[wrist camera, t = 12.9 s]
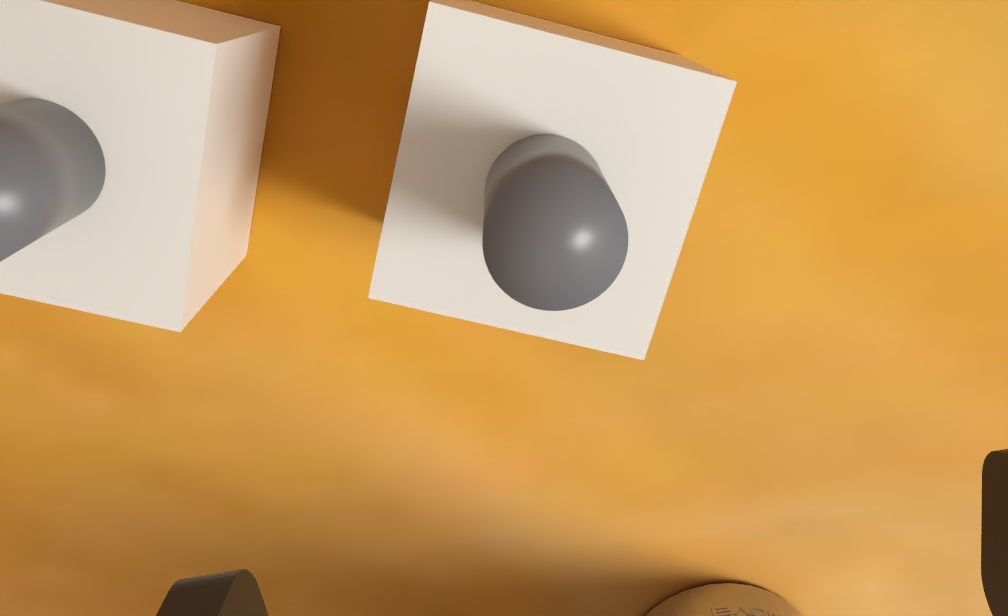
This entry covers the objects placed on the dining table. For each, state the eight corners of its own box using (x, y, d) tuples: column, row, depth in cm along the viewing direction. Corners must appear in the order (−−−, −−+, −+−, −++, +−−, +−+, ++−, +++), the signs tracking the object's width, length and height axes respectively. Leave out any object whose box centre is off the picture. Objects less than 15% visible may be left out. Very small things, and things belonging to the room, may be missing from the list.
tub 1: (612, 278, 36) (672, 437, 24) (394, 227, 35) (342, 365, 23) (681, 55, 33) (791, 107, 21) (444, -7, 32) (413, 9, 20)
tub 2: (246, 255, 35) (117, 405, 23) (16, 202, 34) (-243, 330, 22) (280, 26, 32) (152, 61, 20) (28, -38, 31) (-265, -41, 19)
